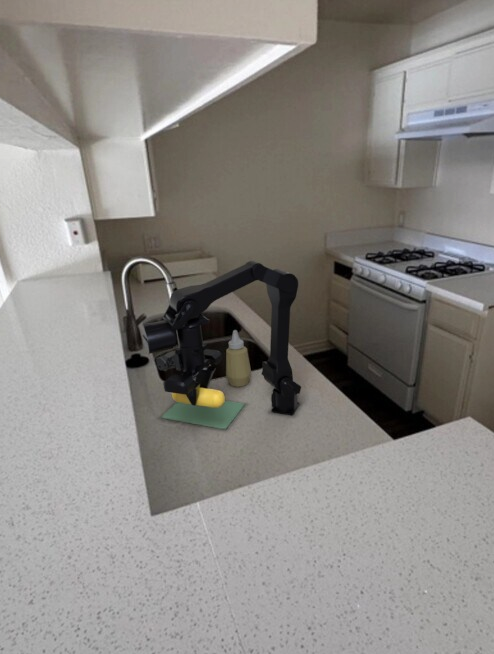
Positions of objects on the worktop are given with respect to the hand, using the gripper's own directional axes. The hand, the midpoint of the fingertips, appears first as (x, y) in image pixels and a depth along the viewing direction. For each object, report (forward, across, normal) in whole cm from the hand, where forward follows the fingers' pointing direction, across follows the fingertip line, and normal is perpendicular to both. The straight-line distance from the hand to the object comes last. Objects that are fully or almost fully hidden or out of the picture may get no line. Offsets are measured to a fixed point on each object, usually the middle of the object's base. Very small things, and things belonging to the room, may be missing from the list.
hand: (198, 400), depth 105 cm
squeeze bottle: (+11, -29, -2) cm, 31 cm away
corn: (+1, 0, 0) cm, 1 cm away
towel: (+11, -11, -5) cm, 16 cm away
